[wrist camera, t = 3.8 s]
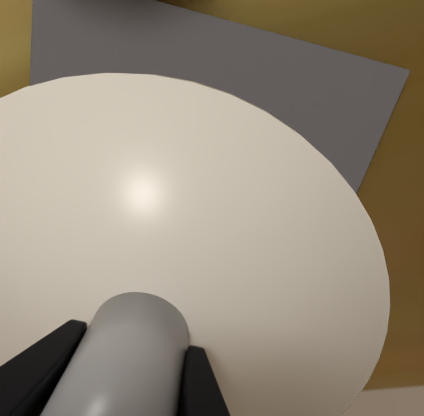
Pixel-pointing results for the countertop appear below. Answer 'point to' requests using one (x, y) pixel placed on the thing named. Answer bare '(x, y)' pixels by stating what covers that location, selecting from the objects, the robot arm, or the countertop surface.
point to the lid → (183, 249)
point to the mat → (226, 68)
